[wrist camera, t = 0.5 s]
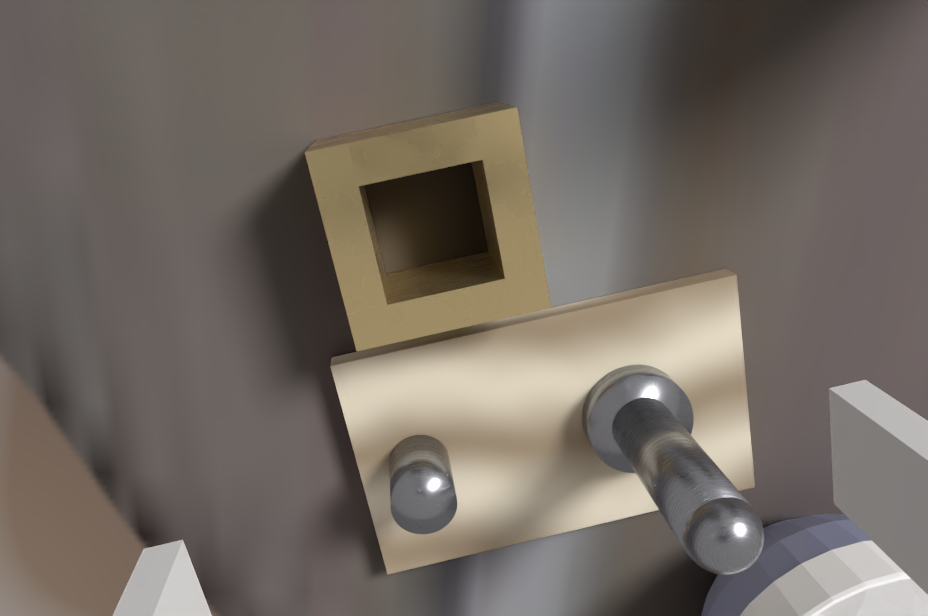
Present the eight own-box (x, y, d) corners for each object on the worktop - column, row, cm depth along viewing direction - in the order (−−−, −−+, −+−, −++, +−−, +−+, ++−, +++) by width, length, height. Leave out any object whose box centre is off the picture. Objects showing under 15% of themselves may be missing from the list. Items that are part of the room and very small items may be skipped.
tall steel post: (574, 377, 38) (660, 512, 26) (676, 354, 38) (805, 477, 26) (589, 468, 39) (676, 632, 28) (687, 445, 39) (812, 598, 28)
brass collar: (314, 140, 34) (304, 152, 29) (497, 101, 34) (517, 107, 30) (359, 314, 37) (356, 351, 32) (528, 277, 37) (551, 307, 32)
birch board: (331, 357, 37) (330, 366, 36) (725, 268, 38) (736, 274, 37) (387, 560, 41) (387, 574, 40) (744, 475, 42) (754, 487, 41)
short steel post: (382, 442, 38) (383, 484, 34) (442, 428, 38) (450, 469, 34) (396, 494, 38) (398, 540, 35) (454, 480, 39) (463, 525, 35)
